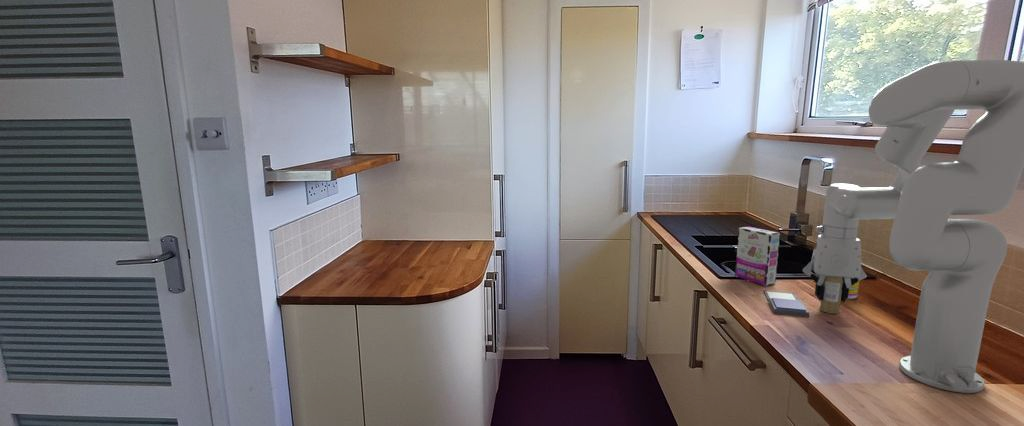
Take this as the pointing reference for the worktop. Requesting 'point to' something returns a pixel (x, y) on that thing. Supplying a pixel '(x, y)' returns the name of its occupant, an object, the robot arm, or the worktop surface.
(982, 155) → the robot arm
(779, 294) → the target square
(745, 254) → the candy bar box
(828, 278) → the sprinkles bottle
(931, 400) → the worktop surface
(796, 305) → the ink pad
